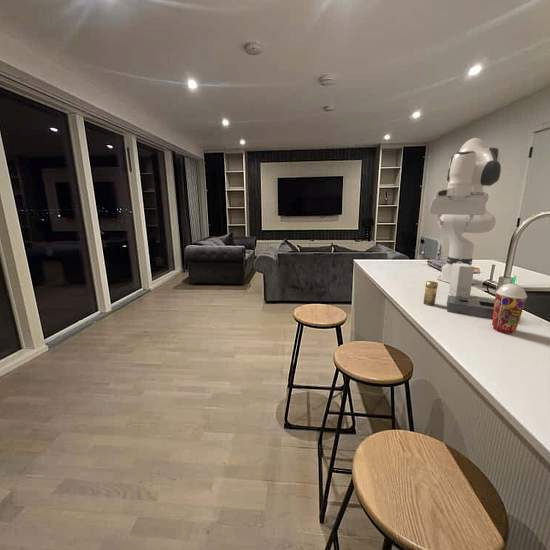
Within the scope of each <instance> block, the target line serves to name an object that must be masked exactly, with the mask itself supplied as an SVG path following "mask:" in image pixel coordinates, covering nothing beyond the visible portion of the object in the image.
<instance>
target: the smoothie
mask: <svg viewBox="0 0 550 550" xmlns="http://www.w3.org/2000/svg"><path fill="white" fill-rule="evenodd" d="M516 280H517V275H514V276H513V278H512V283H506V284H505V283H504V284H503V285H502V286H500V287H499V288H498V289H497V290H496V291H495V297H494V298H495V299H494V302H495V305H494V313H493V319H492V323H491V325H492V326H493V327H492V328H493V329H494V330H495V331H496V332H499V333H502V334H506V335H507V334H510V335H511V334H513V333H514V332H515V331H517V329H518V325H519V321H520V319H521V315H522V313H523V311H524V310H523V309H524V307H525V303H526V300H527V298H528V295H527V292H526V290H525V289H524V287H522V286H521V285H519V284H516Z"/></svg>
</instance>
